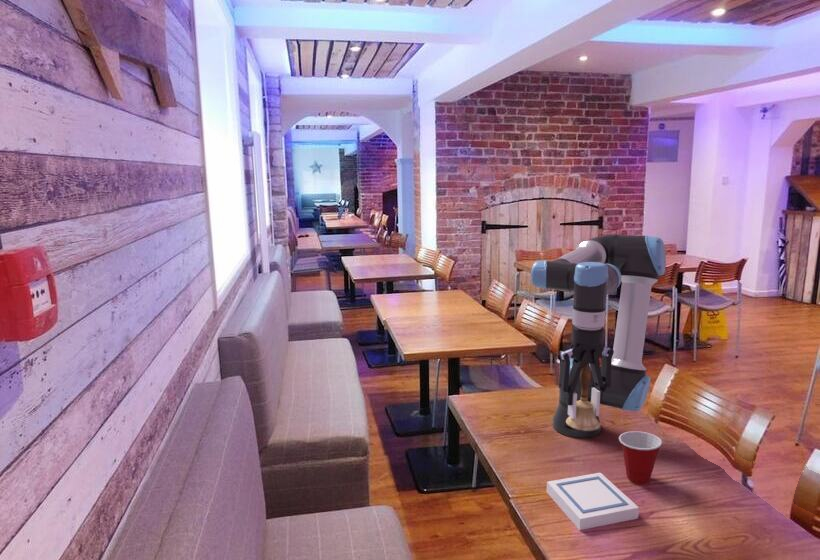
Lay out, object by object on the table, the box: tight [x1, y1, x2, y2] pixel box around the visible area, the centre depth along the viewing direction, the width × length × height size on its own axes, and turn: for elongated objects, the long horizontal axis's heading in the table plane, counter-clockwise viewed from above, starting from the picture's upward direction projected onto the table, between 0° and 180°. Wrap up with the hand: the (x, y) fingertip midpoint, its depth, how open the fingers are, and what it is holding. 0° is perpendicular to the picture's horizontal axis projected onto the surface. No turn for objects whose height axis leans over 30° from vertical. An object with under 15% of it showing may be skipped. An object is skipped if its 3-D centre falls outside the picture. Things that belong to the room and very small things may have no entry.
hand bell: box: [566, 363, 601, 431], centre depth 133 cm, size 8×8×16 cm
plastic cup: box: [618, 430, 663, 485], centre depth 146 cm, size 11×11×12 cm
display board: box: [546, 472, 640, 531], centre depth 136 cm, size 16×16×3 cm
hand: (583, 415), depth 134 cm, fingers closed on hand bell, 6 cm apart
